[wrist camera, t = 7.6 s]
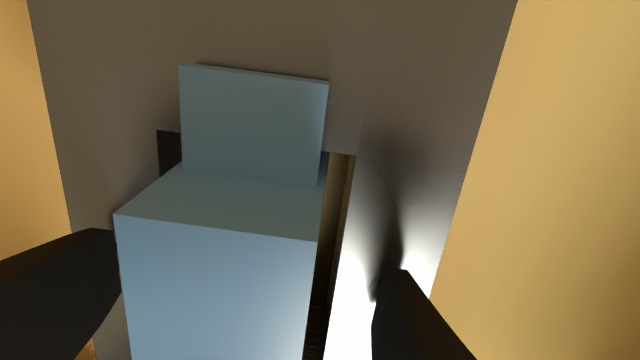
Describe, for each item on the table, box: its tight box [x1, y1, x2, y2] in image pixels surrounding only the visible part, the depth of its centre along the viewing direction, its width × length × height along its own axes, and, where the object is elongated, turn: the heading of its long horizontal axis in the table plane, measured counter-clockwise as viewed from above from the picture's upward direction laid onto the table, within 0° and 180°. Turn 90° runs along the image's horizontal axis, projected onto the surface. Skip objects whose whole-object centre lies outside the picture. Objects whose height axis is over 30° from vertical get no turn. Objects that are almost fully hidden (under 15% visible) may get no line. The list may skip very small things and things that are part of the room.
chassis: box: [27, 0, 518, 360], centre depth 11 cm, size 10×18×3 cm, turn 174°
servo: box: [113, 63, 330, 360], centre depth 9 cm, size 3×10×6 cm, turn 173°
